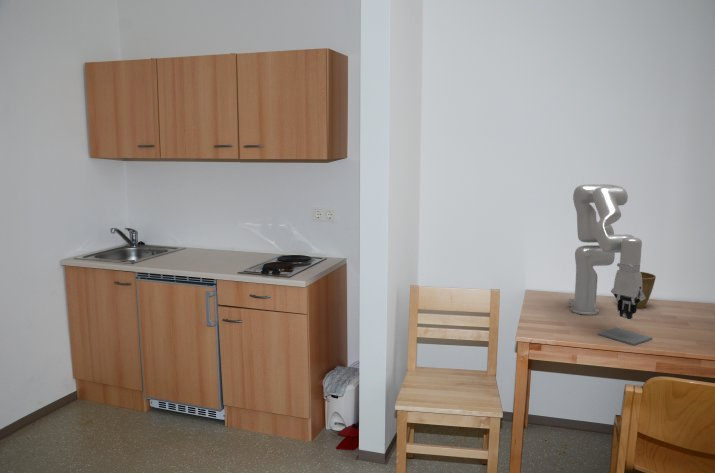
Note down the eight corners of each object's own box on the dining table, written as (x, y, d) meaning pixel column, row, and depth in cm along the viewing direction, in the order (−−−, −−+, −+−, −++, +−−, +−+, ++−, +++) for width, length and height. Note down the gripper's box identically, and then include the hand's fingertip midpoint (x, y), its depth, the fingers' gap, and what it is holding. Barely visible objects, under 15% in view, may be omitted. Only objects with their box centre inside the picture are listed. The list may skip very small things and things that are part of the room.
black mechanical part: (613, 315, 240) (615, 292, 238) (621, 314, 242) (623, 290, 241) (627, 320, 234) (629, 296, 232) (636, 318, 237) (638, 294, 235)
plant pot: (614, 302, 291) (616, 271, 288) (643, 302, 291) (646, 271, 288) (627, 310, 276) (630, 278, 274) (659, 310, 276) (661, 278, 274)
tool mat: (597, 334, 242) (597, 332, 242) (616, 329, 249) (616, 327, 249) (633, 345, 229) (633, 343, 229) (652, 339, 236) (652, 337, 236)
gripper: (605, 265, 239) (602, 308, 242) (644, 273, 225) (641, 318, 228) (615, 263, 244) (613, 305, 246) (655, 270, 230) (651, 315, 232)
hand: (626, 311), depth 237 cm, fingers closed on black mechanical part, 4 cm apart
